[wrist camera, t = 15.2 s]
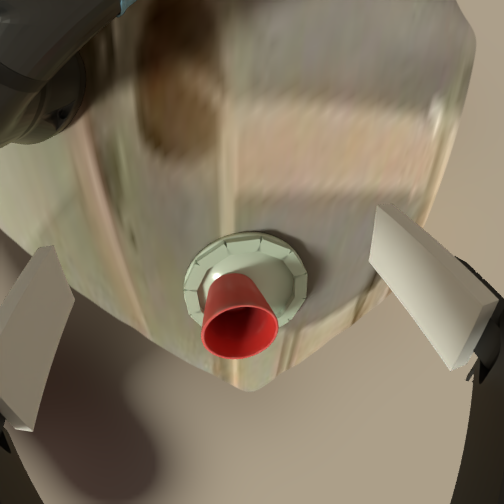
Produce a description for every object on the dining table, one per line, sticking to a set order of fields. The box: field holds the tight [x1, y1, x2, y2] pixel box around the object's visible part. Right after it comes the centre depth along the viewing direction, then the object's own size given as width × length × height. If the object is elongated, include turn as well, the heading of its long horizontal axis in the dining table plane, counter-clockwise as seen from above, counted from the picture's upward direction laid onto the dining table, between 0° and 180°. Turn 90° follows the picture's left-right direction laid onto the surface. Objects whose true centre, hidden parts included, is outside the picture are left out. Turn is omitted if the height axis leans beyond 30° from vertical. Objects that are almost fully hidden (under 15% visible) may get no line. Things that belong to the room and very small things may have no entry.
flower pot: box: [201, 273, 279, 359], centre depth 48 cm, size 11×11×10 cm
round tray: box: [184, 232, 308, 327], centre depth 52 cm, size 20×20×2 cm
